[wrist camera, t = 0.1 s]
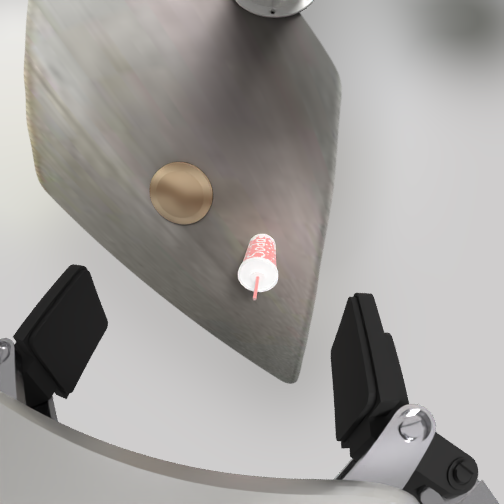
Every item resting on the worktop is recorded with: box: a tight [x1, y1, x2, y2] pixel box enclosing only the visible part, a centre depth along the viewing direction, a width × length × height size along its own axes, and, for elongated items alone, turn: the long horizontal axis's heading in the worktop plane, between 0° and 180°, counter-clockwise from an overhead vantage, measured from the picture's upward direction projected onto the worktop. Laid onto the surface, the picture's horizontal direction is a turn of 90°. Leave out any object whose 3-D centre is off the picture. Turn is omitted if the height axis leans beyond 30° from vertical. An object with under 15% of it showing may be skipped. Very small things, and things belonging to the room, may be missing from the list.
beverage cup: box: [238, 234, 278, 300], centre depth 46 cm, size 6×6×14 cm
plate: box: [150, 162, 213, 224], centre depth 47 cm, size 11×11×1 cm
